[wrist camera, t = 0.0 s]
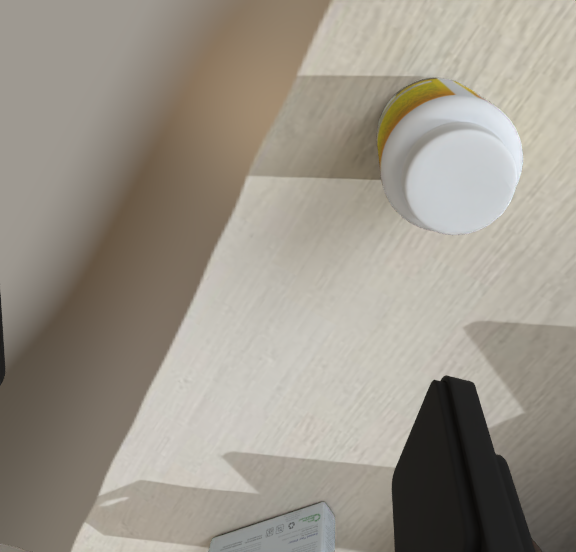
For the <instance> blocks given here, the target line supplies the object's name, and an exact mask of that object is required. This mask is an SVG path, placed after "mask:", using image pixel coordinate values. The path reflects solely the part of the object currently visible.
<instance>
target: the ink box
mask: <svg viewBox="0 0 576 552" xmlns="http://www.w3.org/2000/svg"><path fill="white" fill-rule="evenodd" d="M208 552H335V516H334V515H333V513H332V512H331V510H330V509H329V507H328V506H327V505H326V503H325V502H321V503H318V504H315V505H312V506H309V507H306V508H303V509H300V510H297V511H294V512H291V513H288V514H285V515H282V516H279V517H276V518H273V519H270V520H267V521H264V522H261V523H258V524H255V525H252V526H249V527H246V528H242V529H239V530H237V531H234V532H230V533H227V534H224V535H221V536H218V537H215V538H212V540H211V544H210V548H209V551H208Z"/></svg>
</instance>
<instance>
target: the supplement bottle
mask: <svg viewBox="0 0 576 552" xmlns="http://www.w3.org/2000/svg"><path fill="white" fill-rule="evenodd" d="M377 147H378V156H379V165H380V173H381V180H382V185H383V188H384V191H385V194H386V196H387V198H388V200H389V202H390V204H391V205H392V207H393V208H394V209H395V210H396V211H397V212H398V213H399V214H400V215H401V216H402V217H403V218H404V219H406V220H407V221H408V222H410V223H412V224H414V225H416V226H418V227H420V228H423V229H426V230H430V231H436V232H438V233H442V234H448V235H463V234H468V233H472V232H475V231H478V230H481V229H483V228H485V227H486V226H488V225H489V224H491V223H492V222H494V221H495V220H496V219H497V218H498V217H499V216H500V215H501V214H502V213H503V212H504V211H505V210H506V208H507V207H508V205H509V204H510V202H511V200H512V198H513V195H514V192H515V188H516V186H517V184H518V181H519V178H520V175H521V171H522V165H523V152H522V145H521V141H520V137H519V135H518V132H517V130H516V128H515V126H514V125H513V123H512V122H511V121H510V119H509V118H508V117H507V116H506V115H505V114H504V113H503V112H502V111H501V110H500V109H499V108H498V107H496V106H495V105H493V104H492V103H491V102H489V101H487V100H486V99H484V98H483V97H481V96H480V95H478V94H477V93H475V92H474V91H472V90H471V89H469V88H467V87H466V86H464V85H462V84H460V83H458V82H456V81H453V80H449V79H445V78H427V79H422V80H419V81H416V82H414V83H411V84H409V85H408V86H406V87H404V88H403V89H401V90H400V91H399V92H397V93H396V94H395V95H394V96H393V97H392V98H391V100H390V101H389V102H388V104H387V105H386V107H385V108H384V110H383V112H382V114H381V117H380V120H379V123H378V128H377Z"/></svg>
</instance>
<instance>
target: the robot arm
mask: <svg viewBox="0 0 576 552" xmlns="http://www.w3.org/2000/svg"><path fill="white" fill-rule="evenodd" d="M0 296H1V295H0ZM1 311H2V310H1V297H0V385H1V383H2V382H3V379H4V376H5V358H4V342H3V326H2V312H1ZM392 502H393V521H394V539H395V552H535V549H534V546H533V542H532V539H531V536H530V533H529V530H528V527H527V524H526V520H525V517H524V514H523V511H522V508H521V505H520V502H519V498H518V495H517V492H516V489H515V486H514V483H513V480H512V477H511V473H510V470H509V467H508V465H507V462H506V460H505V459H504V458H503V457H502V456H500V455H496V454H495V451H494V448H493V444H492V441H491V438H490V434H489V431H488V428H487V424H486V421H485V418H484V414H483V411H482V407H481V404H480V401H479V397H478V394H477V391H476V387H475V385H474V383H473V382H470V381H466V380H462V379H458V378H454V377H450V376H444V377H443V378H442V379H441V381H437V380H433V381H432V383H431V385H430V387H429V389H428V391H427V394H426V396H425V399H424V401H423V403H422V406H421V408H420V411H419V413H418V415H417V418H416V420H415V423H414V425H413V427H412V430H411V432H410V435H409V437H408V439H407V442H406V444H405V447H404V449H403V451H402V454H401V456H400V459H399V461H398V463H397V466H396V468H395V471H394V474H393V479H392ZM0 552H31V551H27V550H24V549H19V548H16V547H12V546H8V545H4V544H1V543H0Z"/></svg>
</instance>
